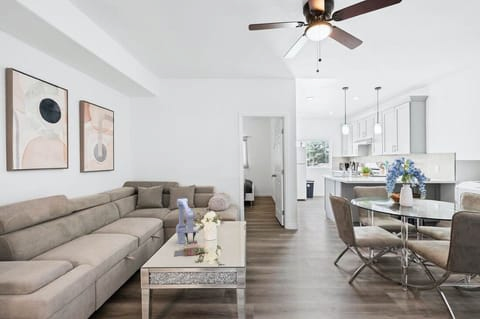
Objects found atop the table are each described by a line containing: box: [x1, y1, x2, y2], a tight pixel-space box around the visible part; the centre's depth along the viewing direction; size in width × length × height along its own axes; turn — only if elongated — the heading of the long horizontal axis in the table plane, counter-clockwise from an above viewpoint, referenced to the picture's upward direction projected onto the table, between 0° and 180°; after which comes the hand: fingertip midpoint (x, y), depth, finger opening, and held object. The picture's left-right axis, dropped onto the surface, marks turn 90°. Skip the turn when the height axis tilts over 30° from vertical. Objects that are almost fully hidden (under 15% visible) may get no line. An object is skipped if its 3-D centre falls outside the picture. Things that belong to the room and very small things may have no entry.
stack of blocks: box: [182, 240, 199, 257], centre depth 230 cm, size 21×6×12 cm
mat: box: [173, 248, 200, 257], centre depth 228 cm, size 14×28×1 cm, turn 103°
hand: (190, 241), depth 234 cm, fingers open, 4 cm apart
